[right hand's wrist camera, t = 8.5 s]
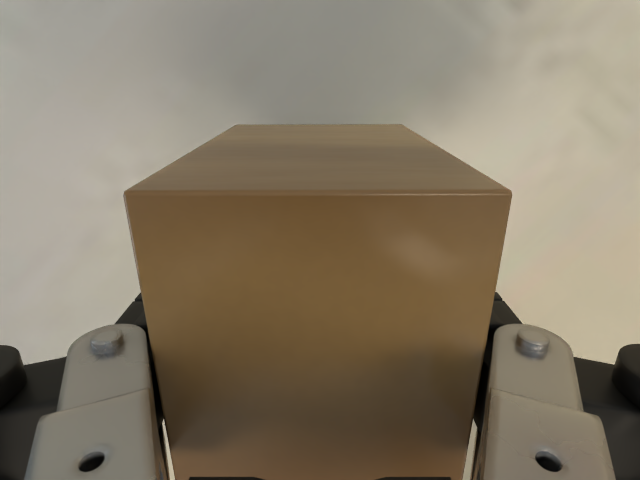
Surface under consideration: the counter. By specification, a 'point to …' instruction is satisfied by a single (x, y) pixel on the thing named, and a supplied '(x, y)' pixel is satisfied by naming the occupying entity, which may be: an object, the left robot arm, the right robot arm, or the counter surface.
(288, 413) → the bar
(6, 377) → the right robot arm
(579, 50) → the counter surface
